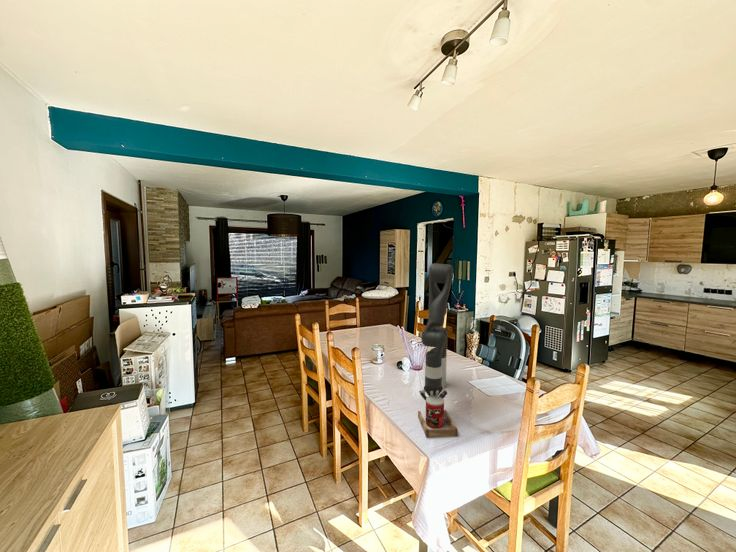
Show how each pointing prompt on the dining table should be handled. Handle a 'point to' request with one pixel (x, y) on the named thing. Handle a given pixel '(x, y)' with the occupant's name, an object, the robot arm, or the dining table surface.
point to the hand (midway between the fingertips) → (433, 410)
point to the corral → (439, 432)
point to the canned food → (434, 411)
